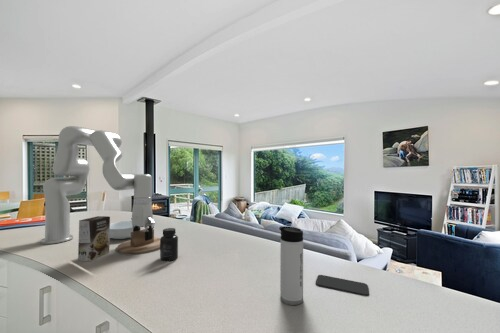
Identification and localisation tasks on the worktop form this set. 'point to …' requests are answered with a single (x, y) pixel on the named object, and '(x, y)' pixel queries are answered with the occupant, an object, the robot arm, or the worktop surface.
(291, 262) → the travel mug
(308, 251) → the worktop surface
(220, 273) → the worktop surface
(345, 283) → the phone
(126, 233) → the cereal bowl
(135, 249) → the lid
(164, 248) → the supplement bottle
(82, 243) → the coffee box
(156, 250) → the tray
